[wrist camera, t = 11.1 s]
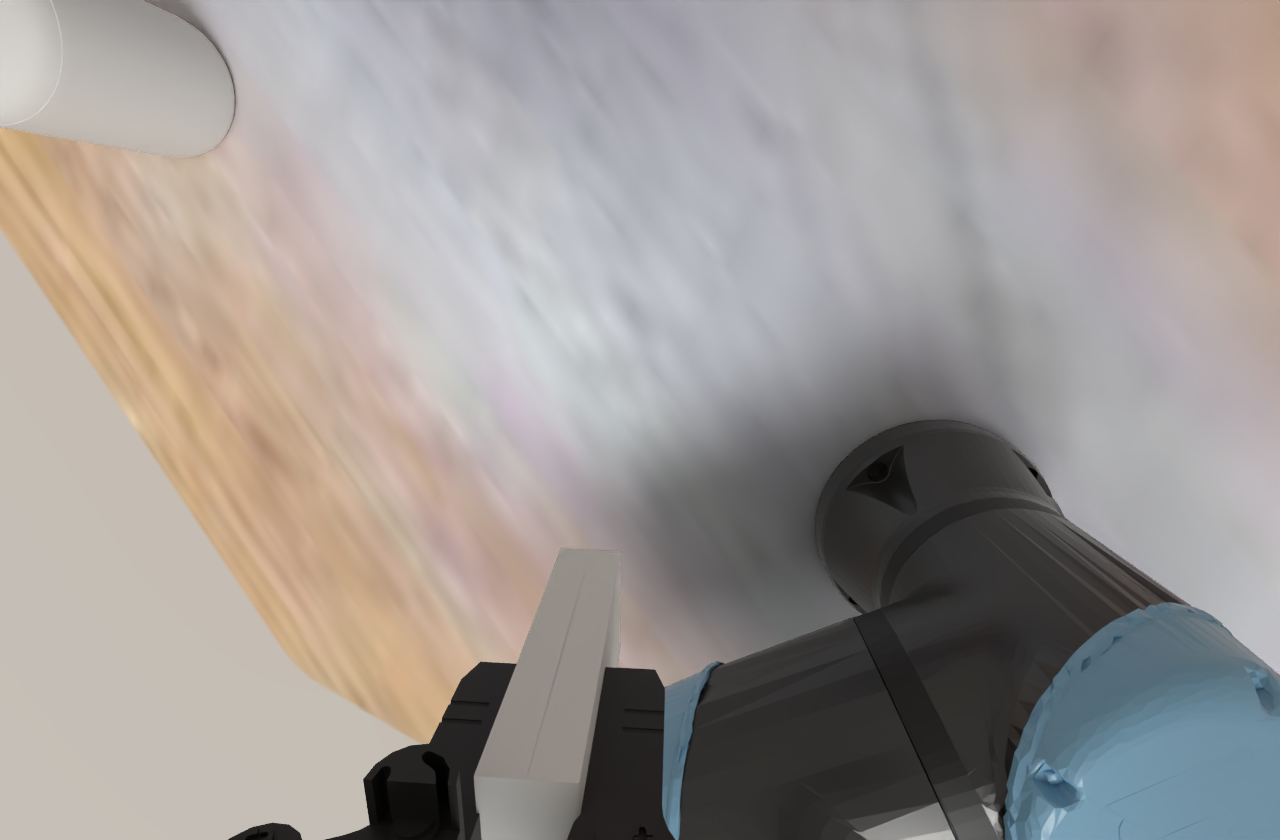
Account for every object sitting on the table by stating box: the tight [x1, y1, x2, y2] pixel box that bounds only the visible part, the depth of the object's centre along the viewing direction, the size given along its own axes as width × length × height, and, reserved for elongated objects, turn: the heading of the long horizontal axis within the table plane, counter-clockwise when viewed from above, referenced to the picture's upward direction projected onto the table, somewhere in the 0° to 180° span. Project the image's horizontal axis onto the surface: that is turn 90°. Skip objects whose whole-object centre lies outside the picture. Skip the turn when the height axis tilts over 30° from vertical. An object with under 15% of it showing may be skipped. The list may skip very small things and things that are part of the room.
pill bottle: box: [0, 0, 235, 158], centre depth 29 cm, size 8×8×15 cm
